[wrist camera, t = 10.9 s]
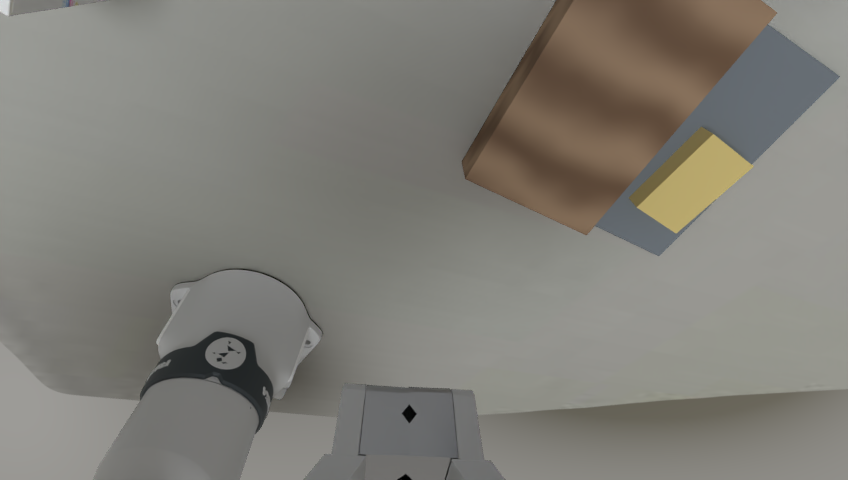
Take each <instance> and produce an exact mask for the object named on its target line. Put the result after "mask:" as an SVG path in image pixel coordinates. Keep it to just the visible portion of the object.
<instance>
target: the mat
mask: <svg viewBox="0 0 848 480" xmlns="http://www.w3.org/2000/svg"><path fill="white" fill-rule="evenodd" d="M839 77H840V76H838V75H837V74H836V73H834V72H833V71H831V70H830V69H829V68H827V67H826V66H825V65H823V64H822V63H820V62H819V61H818V60H816V59H815V58H814V57H812V56H811V55H809V54H808V53H807V52H805V51H804V50H802V49H801V48H800V47H798V46H797V45H796V44H794V43H793V42H791V41H790V40H789V39H787V38H786V37H785V36H783V35H782V34H780V33H779V32H778V31H776V30H775V29H774V28H772V27H771V26H769V25H768V24H767V26H766V27H765V28H764V29H763V30H762V31H761V33H760V34H759V35H758V36H757V37H756V38H755V40H754V41H753V42H752V43H751V44H750V45H749V47H748V48H747V49H746V50H745V51H744V52H743V54H742V55H741V56H740V57H739V58H738V59H737V61H736V62H735V63H734V64H733V65H732V66H731V68H730V69H729V70H728V71H727V72H726V73H725V75H724V76H723V77H722V78H721V79H720V80H719V81H718V83H717V84H716V85H715V86H714V87H713V88H712V90H711V91H710V92H709V93H708V94H707V95H706V97H705V98H704V99H703V100H702V101H701V102H700V104H699V105H698V106H697V107H696V108H695V109H694V111H693V112H692V113H691V114H690V115H689V116H688V118H687V119H686V120H685V121H684V122H683V123H682V125H681V126H680V127H679V128H678V129H677V130H676V132H675V133H674V134H673V135H672V136H671V137H670V139H669V140H668V141H667V142H666V143H665V144H664V146H663V147H662V148H661V149H660V150H659V151H658V153H657V154H656V155H655V156H654V157H653V158H652V160H651V161H650V162H649V163H648V164H647V165H646V167H645V168H644V169H643V170H642V171H641V172H640V174H639V175H638V176H637V177H636V178H635V179H634V181H633V182H632V183H631V184H630V185H629V186H628V187H627V189H626V190H625V191H624V192H623V193H622V194H621V196H620V197H619V198H618V199H617V200H616V201H615V203H614V204H613V205H612V206H611V207H610V208H609V210H608V211H607V212H606V213H605V214H604V215H603V217H602V218H601V219H600V220H599V221H598V222H597V224H596V225H595V226H597V227H599V228H601V229H603V230H605V231H607V232H609V233H611V234H613V235H615V236H618V237H620V238H622V239H624V240H626V241H628V242H630V243H632V244H634V245H637V246H639V247H641V248H643V249H645V250H647V251H649V252H651V253H653V254H655V255H658V256H660V255H661V254H662V253H663V252H664V251H665V250H666V249H667V248H668V247H669V246H670V245H671V244H672V243H673V242H674V241H675V240H676V239H677V238H678V237H679V236H680V235H681V234H682V233H683V232H684V231H685V230H686V229H687V228H688V227H689V226H690V225H691V224H692V223H693V222H694V221H695V220H696V219H697V218H698V217H699V216H700V215H701V214H702V213H703V212H704V211H705V210H706V209H707V208H708V207H709V206H710V205H711V204H712V203H713V202H714V201H713V202H712V203H711V204H710V205H709V206H708V207H706V208H705V209H704V210H703V211H702V212H701V213H700V214H698V215H697V216H696V217H695V218H694V219H693V220H691V221H690V222H689V223H688V224H687V225H686V226H685V227H683V228H682V229H681V230H680V231H679V232H678V233H674V232H673V231H671V230H670V229H668V228H667V227H665V226H664V225H662V224H661V223H659V222H658V221H656V220H655V219H653V218H652V217H650V216H649V215H647V214H646V213H644V212H643V211H641V210H640V209H638V208H637V207H636V206H635V205H634V204H633V203H632V201H631V200H630V199H629V197H630V196H631V195H632V194H633V193H634V192H635V191H636V190H637V189H638V188H639V187H640V186H641V185H642V184H643V183H644V182H645V181H646V180H647V179H648V178H649V177H650V176H651V175H652V174H653V173H654V172H655V171H656V170H657V169H658V168H660V167H661V166H662V165H663V164H664V163H665V162H666V161H667V160H668V159H669V158H670V157H671V156H672V155H673V154H674V153H675V152H676V151H677V150H678V149H679V148H680V147H681V146H682V145H683V144H684V143H685V142H686V141H687V140H688V139H689V138H690V137H691V136H692V135H693V134H694V133H695V132H696V131H697V130H698V129H699V128H700V127H703V128H704V129H706V130H708V131H709V132H711V133H713V134H714V135H715V136H717V137H718V138H719V139H720V140H722V141H723V142H724V143H725V144H727V145H728V146H729V147H730V148H732V149H733V150H734V151H735V152H737V153H738V154H739V155H740V156H742V157H743V158H744V159H745V160H746V161H748V162H749V163H750V164H751V165H752V164H753V163H754V162H755V161H756V160H757V159H758V158H759V157H760V156H761V155H762V154H763V153H764V152H765V151H766V150H767V149H768V148H769V147H770V146H771V145H772V144H773V143H774V142H775V141H776V140H777V139H778V138H779V137H780V136H781V135H782V134H783V133H784V132H785V131H786V130H787V129H788V128H789V127H790V126H791V125H792V124H793V123H794V122H795V121H796V120H797V119H798V118H799V117H800V116H801V115H802V114H803V113H804V112H805V111H806V110H807V109H808V108H809V107H810V106H811V105H812V104H813V103H814V102H815V101H816V100H817V99H818V98H819V97H820V96H821V95H822V94H823V93H824V92H825V91H826V90H827V89H828V88H829V87H830V86H831V85H832V84H833V83H834V82H835V81H836V80H837V79H838V78H839Z"/></svg>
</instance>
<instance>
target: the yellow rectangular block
mask: <svg viewBox="0 0 848 480" xmlns="http://www.w3.org/2000/svg"><path fill="white" fill-rule="evenodd" d="M753 167H754V166H753V165H751V164H750V163H749V162H748V161H746V160H745V159H744V158H743V157H742V156H740V155H739V154H738V153H737V152H735V151H734V150H733V149H732V148H730V147H729V146H728V145H727V144H725V143H724V142H723V141H722V140H720V139H719V138H718V137H717V136H715V135H714V134H713V133H711V132H709V131H708V130H706V129H704V128H703V127H700V128H699V129H698V130H697V131H696V132H695V133H694V134H693V135H692V136H691V137H690V138H689V139H688V140H687V141H686V142H685V143H684V144H683V145H682V146H681V147H680V148H679V149H678V150H677V151H676V152H675V153H674V154H673V155H672V156H671V157H670V158H669V159H668V160H667V161H666V162H665V163H664V164H663V165H662V166H661V167H660V168H658V169H657V170H656V171H655V172H654V173H653V174H652V175H651V176H650V177H649V178H648V179H647V180H646V181H645V182H644V183H643V184H642V185H641V186H640V187H639V188H638V189H637V190H636V191H635V192H634V193H633V194H632V195H631V196H630V197H629V199H630V200H631V201H632V203H633V204H634V205H635V206H636V207H637V208H638V209H640V210H641V211H643V212H644V213H646V214H647V215H649V216H650V217H652V218H653V219H655V220H656V221H658V222H659V223H661V224H662V225H664V226H665V227H667V228H668V229H670V230H671V231H673V232H674V233H678V232H679V231H680V230H681V229H682V228H683V227H685V226H686V225H687V224H688V223H689V222H690V221H691V220H693V219H694V218H695V217H696V216H697V215H698V214H700V213H701V212H702V211H703V210H704V209H705V208H706V207H708V206H709V205H710V204H711V203H712V202H713V201H715V200H716V199H717V198H718V197H719V196H720V195H721V194H723V193H724V192H725V191H726V190H727V189H728V188H730V187H731V186H732V185H733V184H734V183H735V182H736V181H738V180H739V179H740V178H741V177H742V176H743V175H745V174H746V173H747V172H748V171H749V170H750V169H751V168H753Z"/></svg>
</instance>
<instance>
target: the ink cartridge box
mask: <svg viewBox="0 0 848 480" xmlns="http://www.w3.org/2000/svg"><path fill="white" fill-rule="evenodd" d="M102 1H108V0H0V12H1V13H2V14H4V15H6V16H14V15H19V14H25V13H32V12H38V11H44V10H51V9H58V8H64V7H70V6H76V5H83V4H89V3H96V2H102Z"/></svg>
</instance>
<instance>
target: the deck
mask: <svg viewBox="0 0 848 480" xmlns="http://www.w3.org/2000/svg"><path fill="white" fill-rule="evenodd" d="M776 14H777V12H776V11H774V10H773V9H772V8H770V7H769V6H768V5H766V4H765V3H764V2H762V1H761V0H556V2H555V4H554V5H553V7H552V9H551V10H550V12H549V14H548V16H547V17H546V19H545V21H544V22H543V24H542V26H541V28H540V29H539V31H538V33H537V34H536V36H535V38H534V39H533V41H532V43H531V45H530V46H529V48H528V50H527V51H526V53H525V55H524V56H523V58H522V60H521V62H520V63H519V65H518V67H517V68H516V70H515V72H514V74H513V75H512V77H511V79H510V80H509V82H508V84H507V85H506V87H505V89H504V91H503V92H502V94H501V96H500V97H499V99H498V101H497V103H496V104H495V106H494V108H493V109H492V111H491V113H490V114H489V116H488V118H487V120H486V121H485V123H484V125H483V126H482V128H481V130H480V132H479V133H478V135H477V137H476V138H475V140H474V142H473V143H472V145H471V147H470V149H469V150H468V152H467V154H466V155H465V157H464V159H463V160H462V164H463V170H464V175H465V179H466V180H469V181H471V182H473V183H475V184H477V185H479V186H482V187H484V188H486V189H488V190H490V191H492V192H494V193H497V194H499V195H501V196H503V197H505V198H507V199H510V200H512V201H514V202H516V203H518V204H520V205H522V206H525V207H527V208H529V209H531V210H533V211H535V212H537V213H540V214H542V215H544V216H546V217H548V218H550V219H553V220H555V221H557V222H559V223H561V224H563V225H565V226H568V227H570V228H572V229H574V230H576V231H578V232H580V233H583V234H585V235H587V234H588V233H589V232H590V231H591V229H592V228H593V227H594V226H595V225H596V224H597V222H598V221H599V220H600V219H601V218H602V217H603V215H604V214H605V213H606V212H607V211H608V210H609V208H610V207H611V206H612V205H613V204H614V203H615V201H616V200H617V199H618V198H619V197H620V196H621V194H622V193H623V192H624V191H625V190H626V189H627V187H628V186H629V185H630V184H631V183H632V182H633V181H634V179H635V178H636V177H637V176H638V175H639V174H640V172H641V171H642V170H643V169H644V168H645V167H646V165H647V164H648V163H649V162H650V161H651V160H652V158H653V157H654V156H655V155H656V154H657V153H658V151H659V150H660V149H661V148H662V147H663V146H664V144H665V143H666V142H667V141H668V140H669V139H670V137H671V136H672V135H673V134H674V133H675V132H676V130H677V129H678V128H679V127H680V126H681V125H682V123H683V122H684V121H685V120H686V119H687V118H688V116H689V115H690V114H691V113H692V112H693V111H694V109H695V108H696V107H697V106H698V105H699V104H700V102H701V101H702V100H703V99H704V98H705V97H706V95H707V94H708V93H709V92H710V91H711V90H712V88H713V87H714V86H715V85H716V84H717V83H718V81H719V80H720V79H721V78H722V77H723V76H724V75H725V73H726V72H727V71H728V70H729V69H730V68H731V66H732V65H733V64H734V63H735V62H736V61H737V59H738V58H739V57H740V56H741V55H742V54H743V52H744V51H745V50H746V49H747V48H748V47H749V45H750V44H751V43H752V42H753V41H754V40H755V38H756V37H757V36H758V35H759V34H760V33H761V31H762V30H763V29H764V28H765V27H766V26H767V24H768V23H769V22H770V21H771V20H772V19H773V17H774V16H775V15H776Z"/></svg>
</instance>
